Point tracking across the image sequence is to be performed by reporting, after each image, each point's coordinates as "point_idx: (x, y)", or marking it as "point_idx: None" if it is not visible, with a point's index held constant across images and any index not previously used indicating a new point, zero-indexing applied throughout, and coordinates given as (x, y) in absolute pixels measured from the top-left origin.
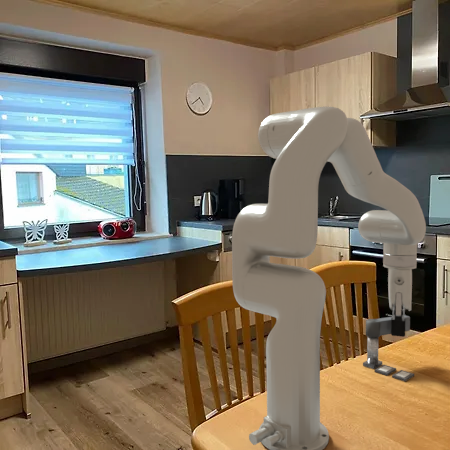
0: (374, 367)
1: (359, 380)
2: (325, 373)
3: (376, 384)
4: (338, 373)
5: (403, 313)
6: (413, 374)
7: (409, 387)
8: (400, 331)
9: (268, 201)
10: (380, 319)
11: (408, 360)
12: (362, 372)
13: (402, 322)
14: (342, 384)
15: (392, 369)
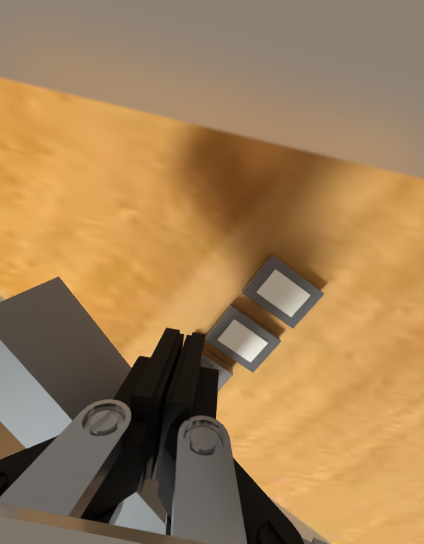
0: (228, 368)
1: (313, 410)
2: (273, 482)
3: (338, 371)
4: (269, 454)
5: (238, 524)
6: (276, 258)
7: (357, 283)
8: (217, 379)
9: None
10: (120, 521)
11: (124, 247)
12: (254, 397)
13: (191, 411)
14: (342, 451)
15: (243, 320)
